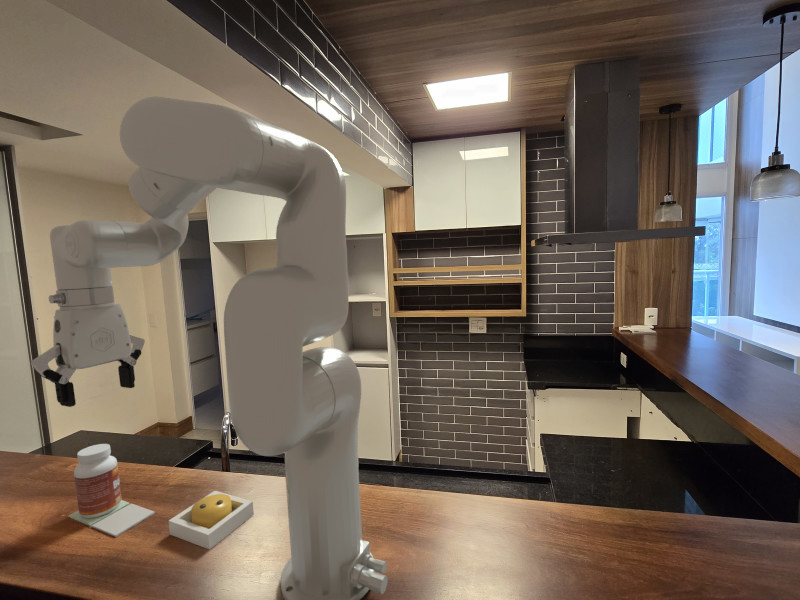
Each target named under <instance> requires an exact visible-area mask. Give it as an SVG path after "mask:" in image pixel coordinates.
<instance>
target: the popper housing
mask: <svg viewBox="0 0 800 600" xmlns="http://www.w3.org/2000/svg"><path fill="white" fill-rule="evenodd" d="M216 494H224V495H228V496H229V497H230V498H231V506H232V513H230V514H229V515H228V516H226V517H225V518H224V519H222V520H221V521H220V522H218V523H217V524H215V525H214V526H213V527H211V528H210V529H207V528H205V527H202V526H199V525H196V524H193V523H192V514H191V509H192V507H193V505H194V504H195V503H193V504H192V505H190V506H188V508H186V509H184V510H183V511H181V512H180V513H178V514H176V515H175V516H174V517H172V518H170V519H168V527H169V535H171V536H173V537H176V538H179V539H181V540H183V541H186V542H189V543H191V544H193V545H197V546H198V547H202V548H205V549H207V550H211V549H213V548H214V547H215V546H217V544H219V543H220V542H221V541H222V540H224V539H225V538H226V537H228V536H229V535H230V534H231V533H232V532H234V531H235V530H236V529H238V528H239V527H240V526H241V525H242V524H244V523H246V521H248V520H249V519H250V518H252V517H253V516H254V513H255V512H254V501H253V500H248V499H245V498H242V497H239V496H235V495H232V494H228V493H225V492H221V491H218V490H214V491H212V492H210V493H209V494H207V495H206V496H203V498H205V497H208V496H211V495H216Z"/></svg>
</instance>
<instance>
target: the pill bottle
mask: <svg viewBox="0 0 800 600" xmlns="http://www.w3.org/2000/svg"><path fill="white" fill-rule="evenodd" d="M111 449H112V448H111V445H110V444H109V443H98V444H93V445H90V446H87V447H85V448H82V449H80V450H79V451H78V452H77V454H76V455H77V462H78V464H77V465H76V466H75V469H74V470H73V476H74V484H75V485H74V486H75V491H76V492H75V493H76V500H77V509H78V511H79V514H80V516H82V517H84V518H94V517H99V516H102V515H104V514H107V513H109V512H111V511H112V510H114V509H115V508H117V507H118V506H119V505H120V503H121V500H123V499H122V491H121V482H120V473H119V466H118V465H119V464H118V460H117V458H116V457H115V456H113V455H111V453H112V450H111Z"/></svg>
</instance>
